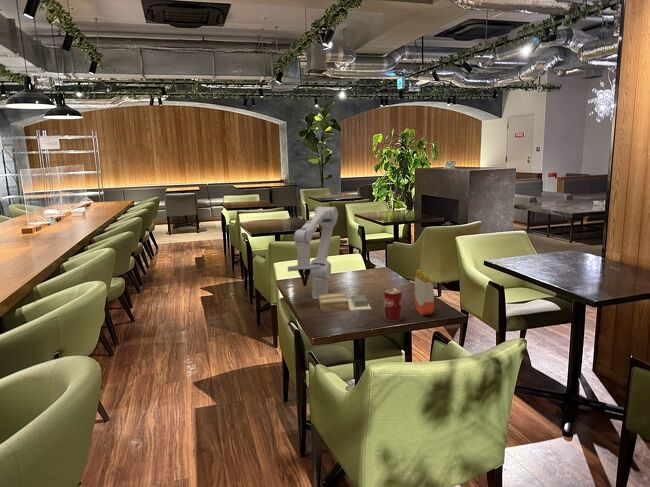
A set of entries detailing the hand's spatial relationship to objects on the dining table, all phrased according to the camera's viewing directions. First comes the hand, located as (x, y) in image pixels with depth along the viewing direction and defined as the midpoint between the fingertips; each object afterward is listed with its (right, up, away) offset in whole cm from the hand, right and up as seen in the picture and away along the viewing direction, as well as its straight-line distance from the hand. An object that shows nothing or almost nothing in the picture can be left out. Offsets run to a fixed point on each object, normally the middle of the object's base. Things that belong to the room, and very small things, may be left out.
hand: (304, 285), depth 221 cm
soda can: (+37, -12, -19) cm, 44 cm away
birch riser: (+13, -9, 0) cm, 16 cm away
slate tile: (+25, -6, +1) cm, 25 cm away
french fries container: (+52, -11, -13) cm, 54 cm away
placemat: (+24, -9, +1) cm, 26 cm away
